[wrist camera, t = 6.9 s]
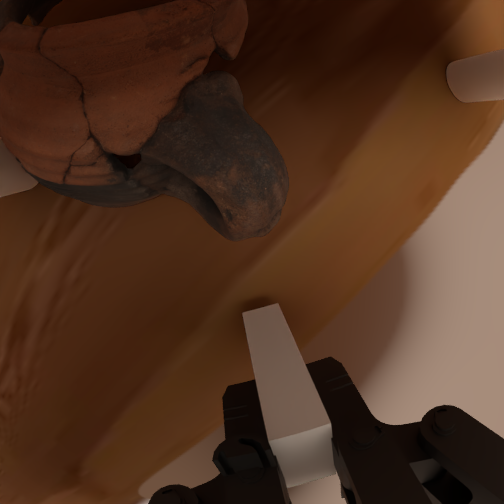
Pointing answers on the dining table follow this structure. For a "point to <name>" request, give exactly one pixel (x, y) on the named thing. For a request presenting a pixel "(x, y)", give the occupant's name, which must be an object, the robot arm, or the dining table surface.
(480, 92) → the side counter
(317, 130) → the dining table surface
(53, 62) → the pottery mug
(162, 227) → the dining table surface
